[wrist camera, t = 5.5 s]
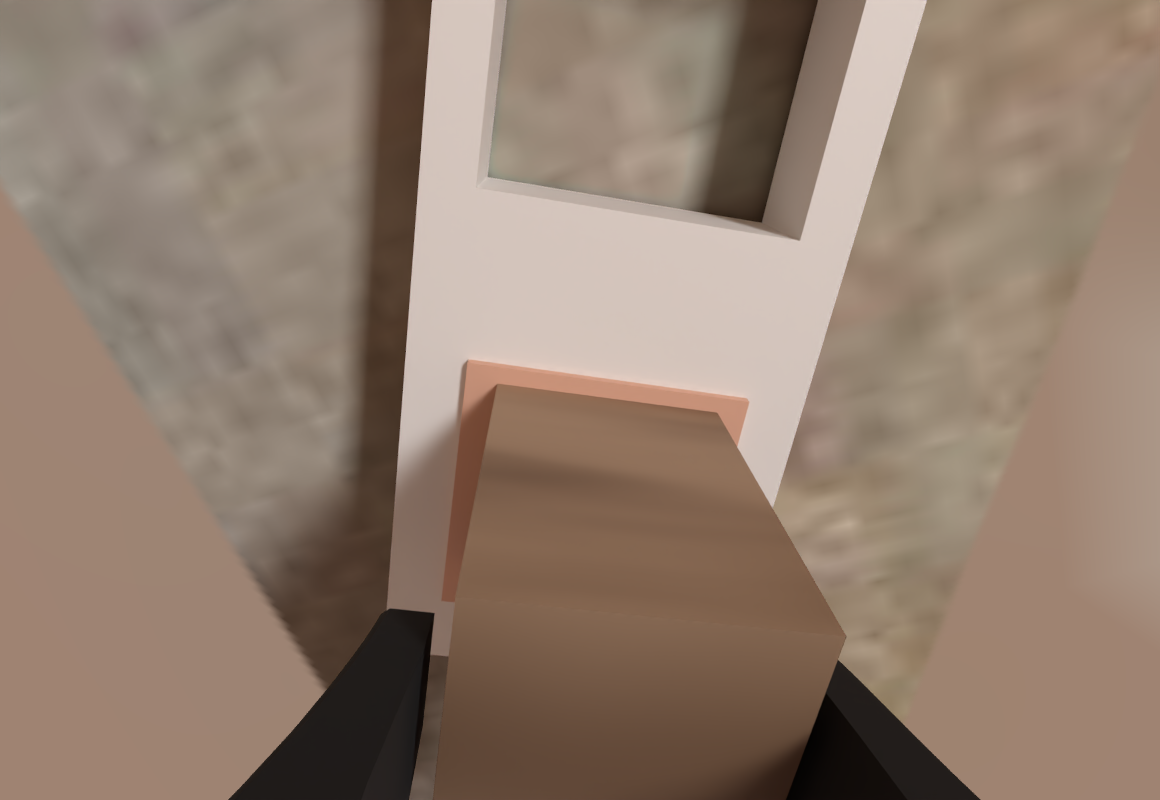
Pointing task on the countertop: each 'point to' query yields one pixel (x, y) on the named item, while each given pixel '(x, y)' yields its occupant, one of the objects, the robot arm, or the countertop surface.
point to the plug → (627, 614)
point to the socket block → (619, 279)
